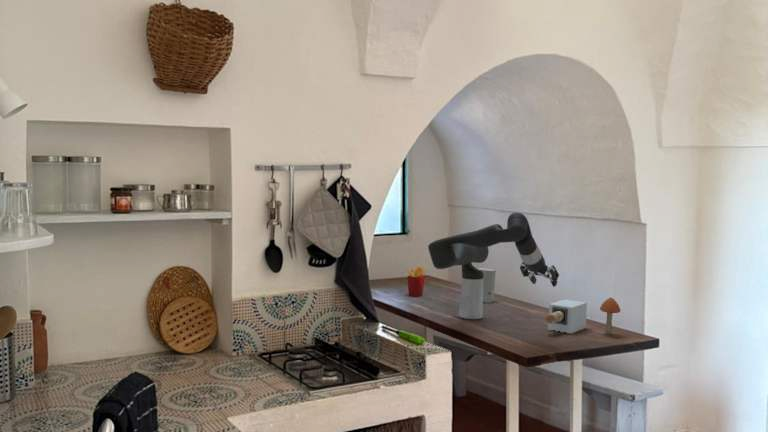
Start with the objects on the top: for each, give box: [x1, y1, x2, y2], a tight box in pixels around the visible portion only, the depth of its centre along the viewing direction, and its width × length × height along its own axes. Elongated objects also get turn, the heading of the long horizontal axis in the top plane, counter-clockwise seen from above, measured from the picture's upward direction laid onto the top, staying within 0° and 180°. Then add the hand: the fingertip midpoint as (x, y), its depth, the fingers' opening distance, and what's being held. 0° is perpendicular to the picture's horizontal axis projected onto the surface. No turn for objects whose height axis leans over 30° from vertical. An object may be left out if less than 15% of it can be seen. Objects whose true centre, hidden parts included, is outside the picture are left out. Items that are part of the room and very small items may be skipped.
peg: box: [545, 310, 565, 325], centre depth 303 cm, size 12×4×4 cm, turn 141°
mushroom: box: [599, 297, 621, 336], centre depth 302 cm, size 8×8×15 cm
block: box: [547, 299, 588, 334], centre depth 311 cm, size 15×10×10 cm
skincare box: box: [477, 267, 497, 304], centre depth 366 cm, size 8×7×16 cm
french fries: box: [406, 265, 427, 298], centre depth 377 cm, size 9×8×15 cm
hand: (544, 283), depth 293 cm, fingers open, 8 cm apart
